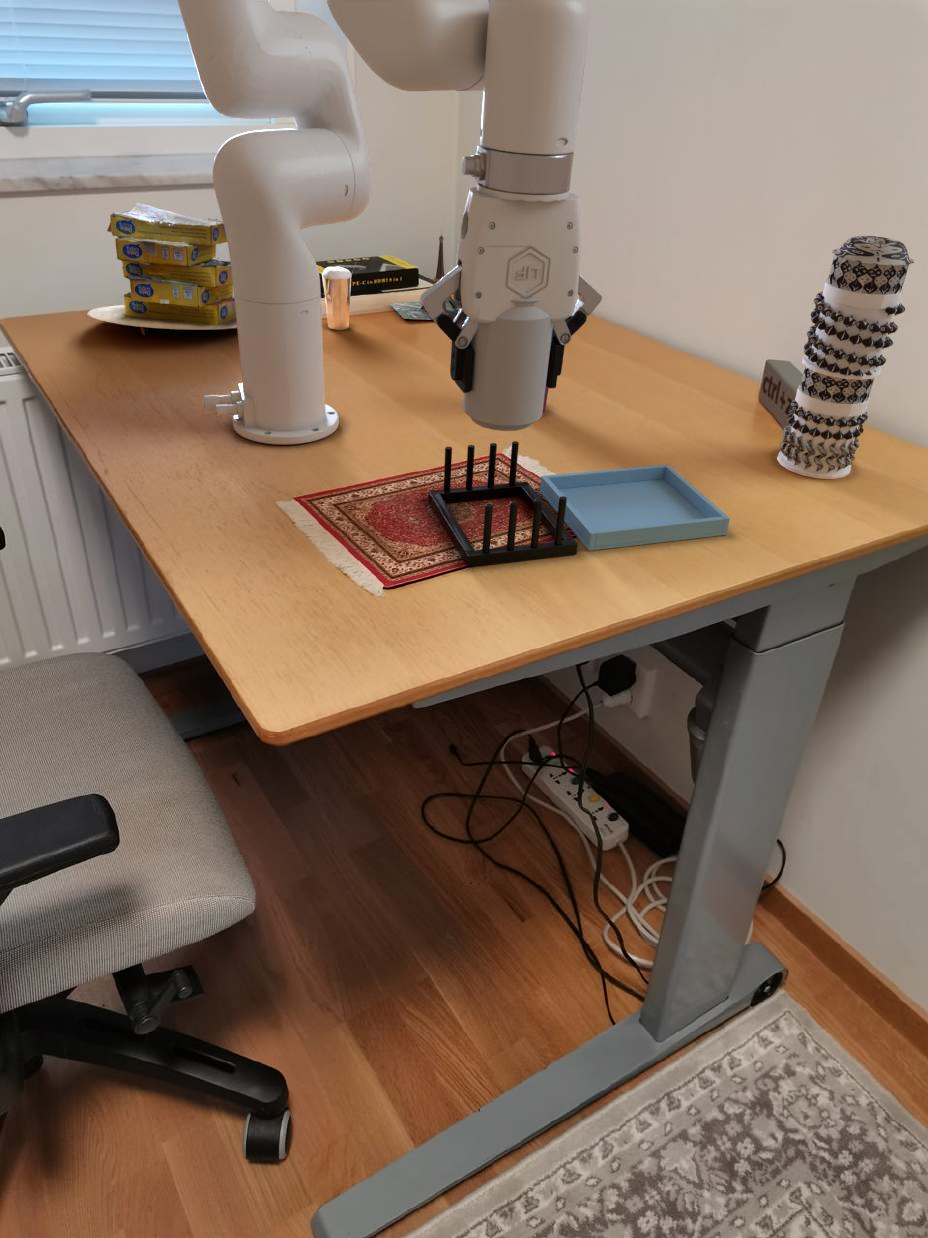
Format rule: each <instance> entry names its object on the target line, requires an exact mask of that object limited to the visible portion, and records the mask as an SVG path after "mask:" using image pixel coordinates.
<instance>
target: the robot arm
mask: <svg viewBox="0 0 928 1238" xmlns="http://www.w3.org/2000/svg"><path fill="white" fill-rule="evenodd" d="M177 3H178V7H179V11H180V14H181V18H182V22H183V25H184V29H185V31H186V37H187V40H188V43H189V46H190V50H191V55H192V57H193V61H194V64H195V67H196V71H197V75H198V79H199V82H200V84H201V87H202V90H203V93H204V95H205V97H206V99H207V101H208V103H209V104H210V106H211V107H212V108H213V109H214V110H215V112H217V113H218V114H220V115H222V116H224V117H228V118H231V119H242V120H259V119H260V120H263V119H284V118H285V119H287V118H293V121H294V123H295V127H296V128H277V129H276V128H275V129H262V130H261V129H259V130H258V129H257V130H252V131H245V132H243V133H239V134H236V135H234V136H232V137H230V138H229V139H227V140H226V141H225V142H224V143H223V144H222V145H221V146H220V147H219V149H218V150H217V152H216V154H215V156H214V160H213V165H212V181H213V182H212V184H213V189H214V193H215V197H216V200H217V204H218V205H217V206H218V208H219V211H220V216H221V219H222V221H223V223H224V228H225V232H226V237H227V242H226V243H227V248H228V255H229V260H230V262H231V270H232V279H233V297H235V308H236V319H237V328H236V329H237V340H238V350H239V351H238V352H239V361H240V372H241V383H240V382H239V383H238V384H237V386H238V390H233V391H232V390H231V391H230V394H207V395H206V394H204V395H203V403H204V404H203V405H204V410H205V413H207V412H208V413H211V412H216V417H217V418H221V417H229V416H232V427H233V430H234V432H236V433H237V434H238V435H239V436H241V437H243V438H244V439H247V440H249V441H253V442H257V443H260V444H268V445H278V446H279V445H282V446H283V445H287V446H288V445H289V446H290V445H301V444H307V443H312V442H316V441H318V440H322V439H325V438H326V437H329V436H331V435H332V434H333V433H334V432H336V430H338V427H339V425H340V421H339V420H340V418H339V414H338V412H337V410H336V409H334V408H333V407H332V406H331V405H328V404H326V390H325V389H326V387H325V369H324V368H325V365H324V364H325V363H324V342H323V339H324V338H323V317H322V293H321V276H320V272H319V268H318V265H317V262H316V260H315V257H314V256H313V253H311V251H310V250H309V248H308V246H307V244H306V243H305V241H304V239H303V237H302V235H301V232H300V231H301V230H303V229H308V228H312V227H319V226H320V227H321V226H325V225H327V226H328V225H333V224H339V223H340V224H341V223H345V222H348V221H352V220H354V219H356V218H357V217H359V216H360V215H361V214H362V213H364V211H365V210H366V208H367V207H368V205H369V203H370V200H371V197H372V192H373V172H372V163H371V158H370V153H369V148H368V143H367V138H366V134H365V130H364V125H363V122H362V115H361V112H360V108H359V103H358V100H357V94H356V91H355V85H354V81H353V76H352V72H351V69H350V65H349V60H348V58H347V55H346V51H345V49H344V47H343V44H342V42H341V41H340V39H339V37H338V36H337V34H336V32H335V31H334V30H333V28H332V27H331V26H329V24H328V23H327V22H326V21H325V20H323V19H322V18H320V17H318V16H316V15H314V14H311V13H307V12H302V11H287V10H277V9H276V8H274V7H272V5H271V3H270V1H269V0H177ZM325 3H326V5H327V7H328V10H329V11H330V14H331V16H332V18H333V19H334V21H335V23H336V24H337V26H338V27H339V29H340V30H341V31H342V33H343V35H344V36H345V37H346V38H347V40H348V41H349V42H350V44H351V45H352V47H353V49H354V50H355V52H357V54H358V55H359V56H360V58H361V59H362V60H363V61H364V63H365V64H366V66H368V68H369V69H370V70H371V71H372V72H373V73H374V74H375V75H376V76H377V77H378V78H380V79H381V80H382V81H383V82H385V83H386V84H387V85H389V86H391V87H394V88H395V89H398V90H401V91H406V92H436V91H437V92H440V91H441V92H446V91H456V92H466V91H467V92H475V91H480V92H481V91H482V105H481V121H480V137H479V145H477V146H476V152H475V154H472V155H470V156H467V155H466V156H465V155H464V156H462V158H461V166H460V167H461V174H462V175H463V176H470V177H472V178H474V181H475V182H477V183H476V186H475V187H470V188H469V190H468V191H469V192H468V194H467V197H466V202H465V206H464V210H463V215H462V219H461V223H460V230H459V235H458V241H457V248H456V254H455V255H456V256H455V262H454V268H453V269H451V270H450V271H448V272H447V274H444V275H445V276H444V277H443V278H442V279H440V280H439V281H438V282H436V283H435V284H434V283H433V284H434V285H431V286H430V287H428V289H426V290H425V291H424V292H422V294H421V295H420V296H419V302H421V303H422V304H423V306H424V307H425V309H426V310H427V312H428V313H429V314H430V316H431V317H432V319H431V320H433V322H434V324H436V326H438V328H439V329H440V330H441V331H442V332H443V333H444V334H445V336H447V337H448V338H449V339H450V341H451V348H450V349H451V350H450V365H449V367H450V368H449V374H450V378H451V380H452V381H454V383H455V384H456V385H457V387H458V388H459V389H460V391H461V392H462V393H463V394H464V393H469V392H470V391H471V390H472V379H473V365H474V349H473V348H472V347H471V346H470V342H471V340H472V338H473V337H474V335H475V334H476V332H477V330H478V323H485V324H490V323H492V322H495V321H496V317H498V316H499V315H500V314H502V313H503V312H504V311H506V310H509V309H511V308H513V307H515V303H514V302H511V300H513V299H539V300H540V301H538V302H535V303H534V306H535V307H538V308H539V309H541V310H542V311H544V312H545V313H547V314H548V315H550V320H551V322H553V330H552V338H551V346H550V354H549V363H548V371H547V379H546V386H547V387H548V388H549V389H557V385H558V384H557V382H558V377H560V376H561V374H562V371H563V362H564V354H565V346H566V345H568V344H570V342H571V341H572V336H573V335H575V334H576V332H578V331H579V330H580V329H581V328H582V327H583V326H584V325H585V324H586V322H587V318H588V317H589V316H591V314H592V313H593V312H594V311H595V309H596V308H598V306H599V305H600V303H601V301H602V300H603V296H602V294H601V293H600V292H599V291H598V290H597V289H596V288H595V287H594V286H593V285H591V283H590V282H588V280H586V279H585V278H584V277H583V276H582V275H581V274H580V264H581V208H580V198H579V196H578V195H577V194H575V193H573V192H571V191H570V190H571V189H570V188H571V181H572V173H573V164H574V157H575V148H576V147H575V146H576V138H577V131H578V124H579V123H578V121H579V113H580V105H581V96H582V89H583V81H584V80H583V79H584V71H585V64H586V55H587V47H588V39H589V30H590V17H591V16H590V15H591V14H590V6H589V4H588V1H587V0H325ZM450 296H451V297H452V296H453V297H452V298H453V300H454V302H455V304H456V305H457V306H459V307H460V308H461V309H460V311H459V312H458V314H457V316H456V317H455V318H450V317H449V316H448V314H447V313H446V312H445V310H444V308H443V302H444V301H445V300H446V299H447V298H449V297H450Z"/></svg>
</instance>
